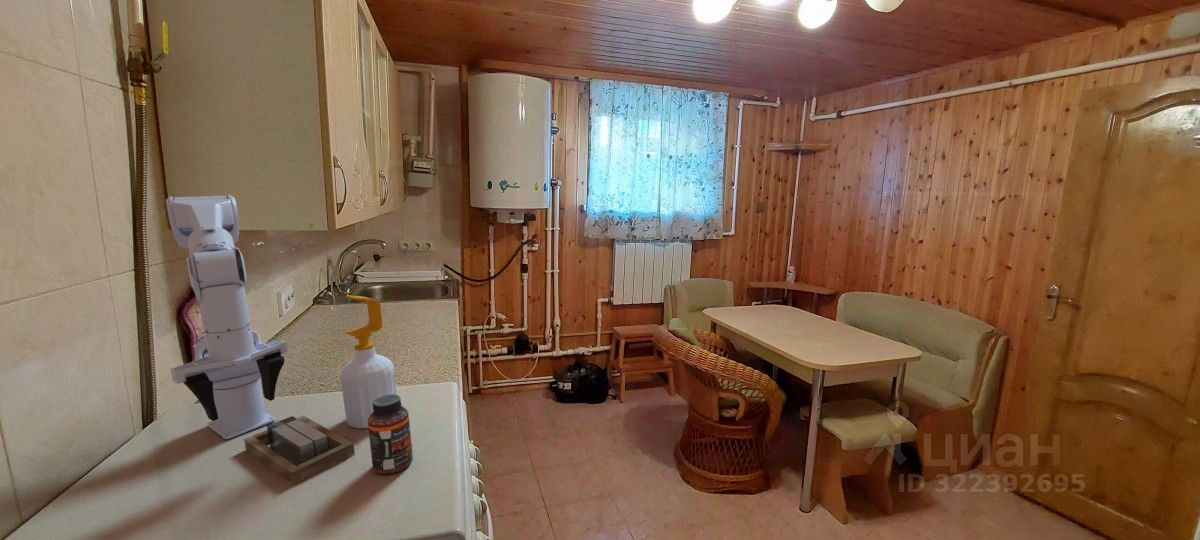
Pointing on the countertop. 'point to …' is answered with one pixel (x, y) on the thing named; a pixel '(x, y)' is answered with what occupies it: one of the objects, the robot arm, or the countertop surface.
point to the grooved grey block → (296, 440)
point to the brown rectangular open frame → (306, 469)
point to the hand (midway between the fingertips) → (242, 408)
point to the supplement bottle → (389, 435)
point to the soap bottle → (366, 371)
